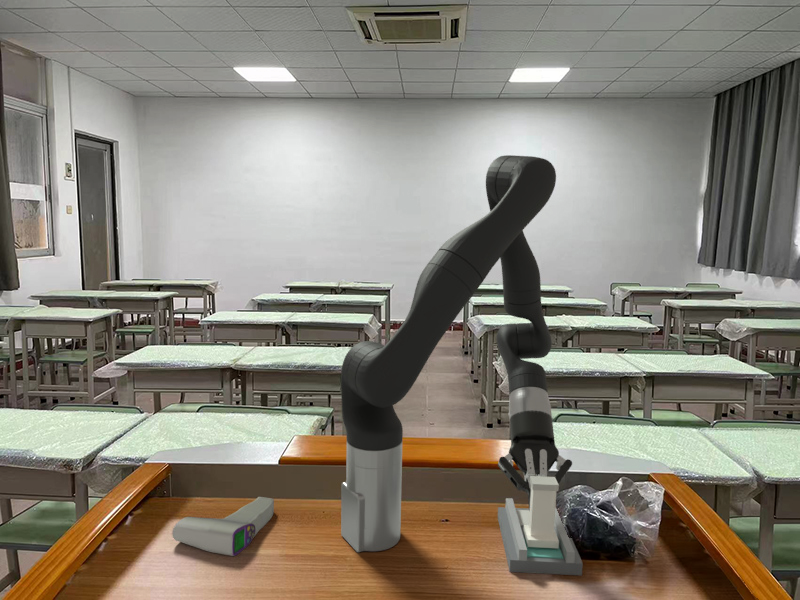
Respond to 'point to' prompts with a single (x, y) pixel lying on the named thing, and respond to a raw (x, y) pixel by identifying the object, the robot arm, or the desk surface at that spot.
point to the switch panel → (534, 557)
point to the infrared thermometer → (225, 528)
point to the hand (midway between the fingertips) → (539, 516)
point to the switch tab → (542, 513)
